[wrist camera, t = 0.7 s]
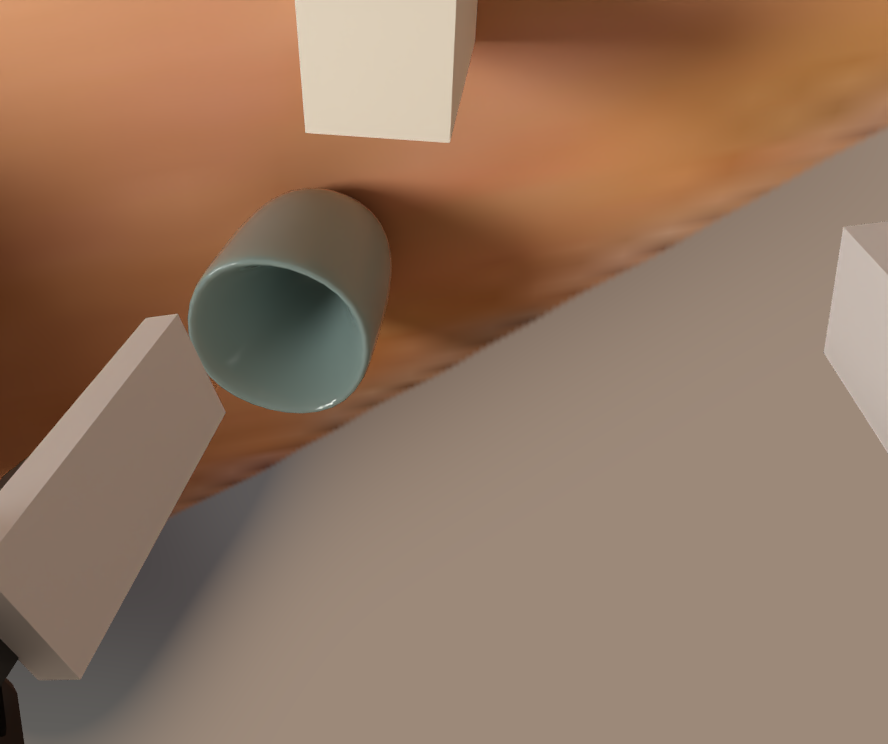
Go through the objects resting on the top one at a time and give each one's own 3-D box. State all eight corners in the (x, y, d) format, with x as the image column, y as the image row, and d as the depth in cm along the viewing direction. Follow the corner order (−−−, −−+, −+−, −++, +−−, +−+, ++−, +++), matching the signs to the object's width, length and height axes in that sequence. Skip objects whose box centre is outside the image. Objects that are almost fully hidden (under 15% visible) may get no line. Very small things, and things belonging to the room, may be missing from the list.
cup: (418, 191, 34) (388, 289, 26) (387, 317, 39) (353, 433, 31) (266, 147, 33) (186, 234, 25) (252, 281, 38) (181, 390, 30)
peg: (384, 35, 30) (305, 132, 19) (383, -73, 28) (292, -36, 16) (475, 41, 30) (449, 143, 19) (481, -67, 27) (457, -26, 16)
